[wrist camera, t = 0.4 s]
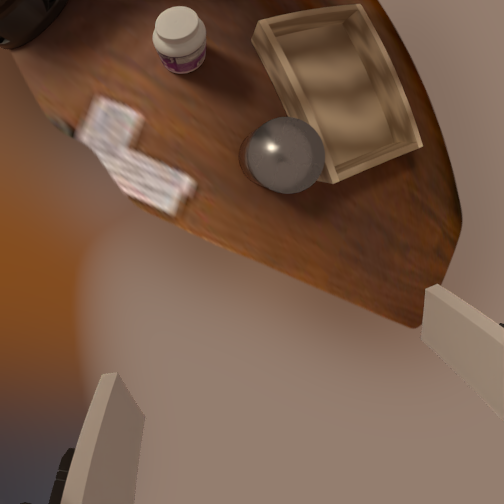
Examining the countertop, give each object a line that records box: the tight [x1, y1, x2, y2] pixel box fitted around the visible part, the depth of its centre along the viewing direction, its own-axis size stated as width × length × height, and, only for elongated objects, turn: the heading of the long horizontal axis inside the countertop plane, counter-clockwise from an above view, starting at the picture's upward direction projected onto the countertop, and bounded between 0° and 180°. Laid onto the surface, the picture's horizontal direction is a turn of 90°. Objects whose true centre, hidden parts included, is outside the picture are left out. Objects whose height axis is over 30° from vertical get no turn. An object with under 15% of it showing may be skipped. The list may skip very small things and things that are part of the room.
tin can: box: [239, 117, 325, 194], centre depth 29 cm, size 7×7×9 cm
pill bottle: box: [153, 6, 206, 74], centre depth 24 cm, size 5×5×10 cm
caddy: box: [251, 4, 423, 184], centre depth 29 cm, size 20×14×6 cm
